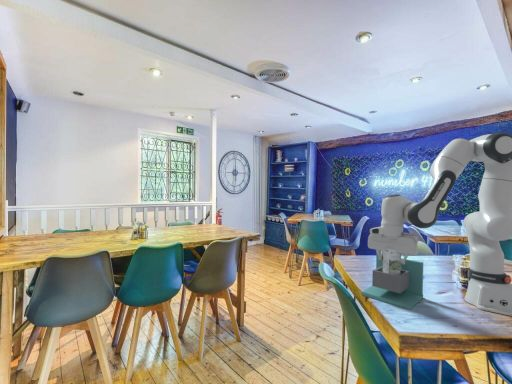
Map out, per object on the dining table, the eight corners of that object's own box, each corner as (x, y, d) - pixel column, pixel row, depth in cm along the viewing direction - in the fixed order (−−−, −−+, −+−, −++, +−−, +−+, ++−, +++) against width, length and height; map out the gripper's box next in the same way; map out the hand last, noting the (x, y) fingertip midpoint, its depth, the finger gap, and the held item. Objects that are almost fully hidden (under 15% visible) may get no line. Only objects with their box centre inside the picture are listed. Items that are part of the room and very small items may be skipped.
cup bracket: (423, 297, 119) (423, 262, 119) (410, 309, 107) (410, 270, 107) (377, 285, 134) (378, 253, 134) (361, 294, 121) (362, 260, 121)
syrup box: (394, 278, 122) (394, 246, 122) (401, 282, 116) (401, 249, 116) (381, 278, 122) (381, 246, 122) (388, 282, 116) (388, 249, 116)
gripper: (420, 233, 113) (420, 265, 113) (372, 227, 128) (371, 256, 128) (415, 234, 109) (415, 268, 109) (366, 228, 124) (366, 258, 124)
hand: (391, 261), depth 119 cm, fingers closed on syrup box, 8 cm apart
